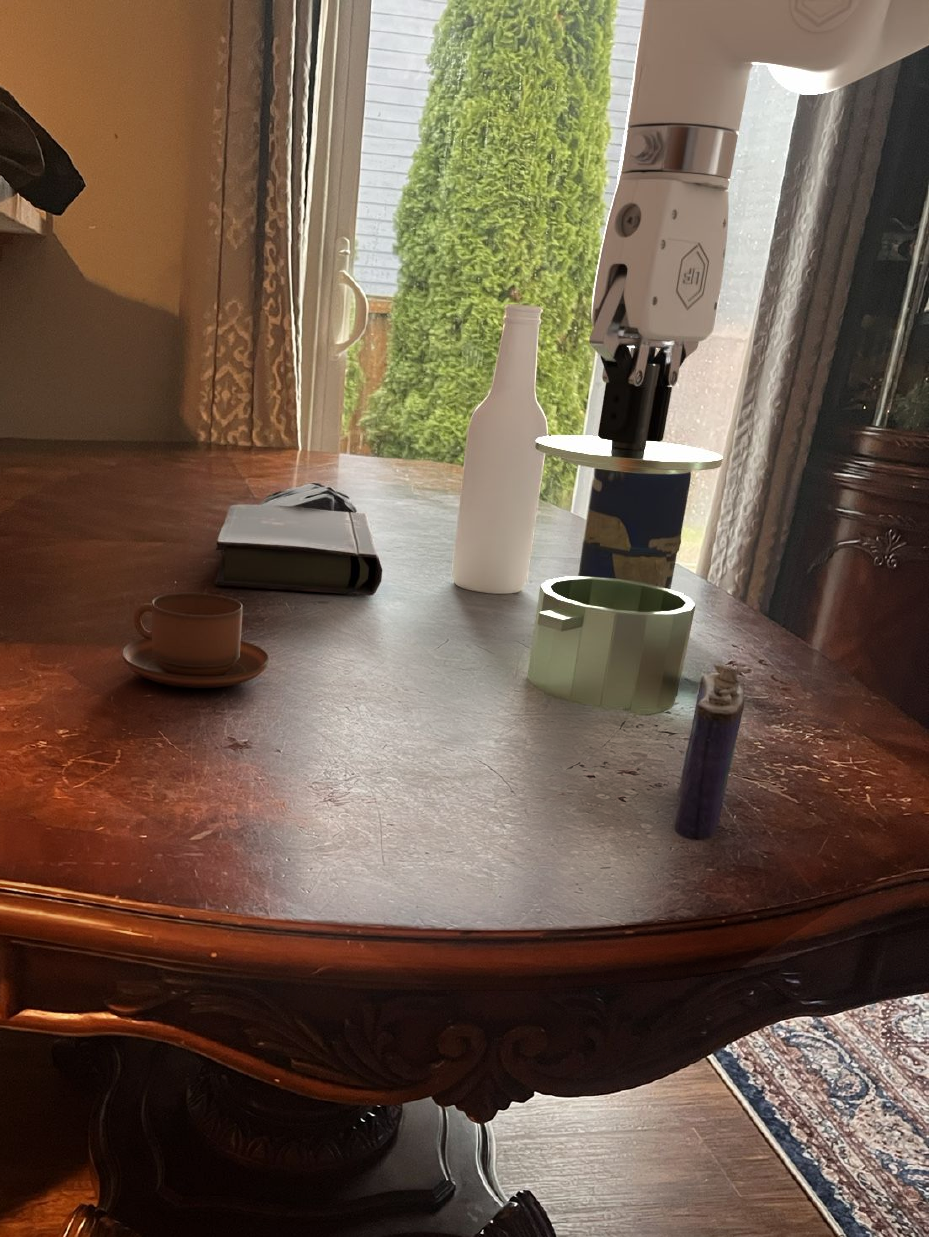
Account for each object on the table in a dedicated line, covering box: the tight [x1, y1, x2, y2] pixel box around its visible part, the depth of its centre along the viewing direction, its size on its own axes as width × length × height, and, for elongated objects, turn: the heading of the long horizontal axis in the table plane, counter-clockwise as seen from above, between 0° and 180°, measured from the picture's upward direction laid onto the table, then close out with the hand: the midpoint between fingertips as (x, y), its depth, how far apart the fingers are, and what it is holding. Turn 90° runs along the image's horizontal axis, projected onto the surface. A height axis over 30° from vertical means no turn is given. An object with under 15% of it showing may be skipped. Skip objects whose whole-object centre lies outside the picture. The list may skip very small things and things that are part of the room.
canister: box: [577, 468, 692, 590], centre depth 118 cm, size 10×10×18 cm
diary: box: [214, 503, 383, 596], centre depth 136 cm, size 19×25×5 cm
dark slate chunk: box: [260, 482, 358, 513], centre depth 166 cm, size 15×22×5 cm
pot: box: [526, 576, 696, 716], centre depth 100 cm, size 13×18×8 cm
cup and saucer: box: [122, 592, 270, 689], centre depth 96 cm, size 12×12×6 cm
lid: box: [535, 363, 724, 474], centre depth 87 cm, size 14×14×7 cm
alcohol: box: [450, 303, 549, 595], centre depth 130 cm, size 9×9×30 cm
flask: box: [674, 662, 748, 842], centre depth 75 cm, size 9×3×11 cm, turn 162°
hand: (630, 438), depth 88 cm, fingers closed on lid, 2 cm apart
